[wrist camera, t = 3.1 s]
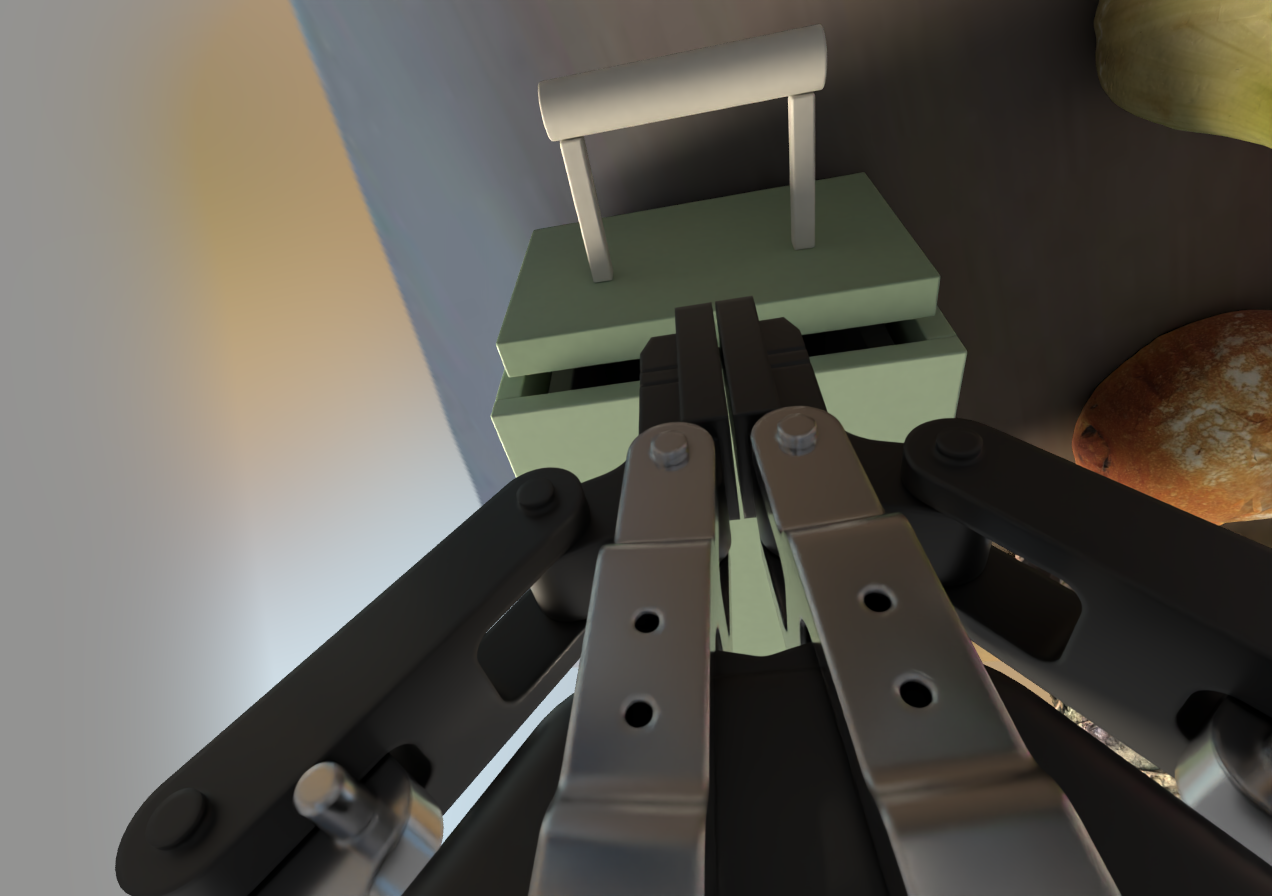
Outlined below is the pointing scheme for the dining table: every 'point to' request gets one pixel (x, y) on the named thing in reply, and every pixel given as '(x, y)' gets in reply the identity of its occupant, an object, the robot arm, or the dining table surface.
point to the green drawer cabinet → (609, 422)
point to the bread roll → (1190, 419)
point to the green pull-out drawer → (707, 227)
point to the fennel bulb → (1190, 63)
